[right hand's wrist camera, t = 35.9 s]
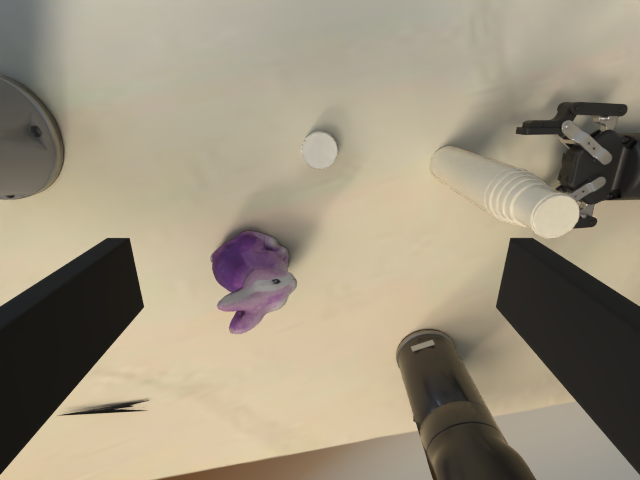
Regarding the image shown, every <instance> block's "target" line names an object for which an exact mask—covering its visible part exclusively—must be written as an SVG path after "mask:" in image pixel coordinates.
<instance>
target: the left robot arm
mask: <svg viewBox="0 0 640 480" xmlns="http://www.w3.org/2000/svg"><path fill="white" fill-rule="evenodd" d="M557 111H558V113H557V115H556V116H555V117H554V118H553V119H552V120H534V121H526V122H523V125H522V127H517V129H516V134H522V135H541V134H555V135H556V136H557V137H558V138H559V141H560V142H561V143H562V144H564V145H565V146H566V147H567V148H568V151H567V152H566V153H564V154H563V158H562V168H561V170H560V173H559V176H558V180H559V181H560V183H559V184H557V185H556V186H554V187H553V188H552V189H553V190H554V191H556V192H558V193H565V192H567V191H568V193H565V194H567V195H569V196H571V197H572V198H573V199H574V200H575V201H576V202H577V201H580V202H581V205H580V206H579V219H578V222H577V223H576V224H575V226H574V227H573V228H586V227H593V226H595V225H596V223H597V219H596V218H594V217H592V214H593V209H594V204H596V203H598V202H601V201H604V200H640V133H624V134H619V133H617V132H616V131H614V129H615V126H616V123H617V120H618V116H623V115H624V114H625V113H626V112H627V106H626V105H625V104H607V103H586V102H574V103H570V102H563V103H561V104H559V106H558V108H557ZM576 115H593V116H592V119H593V121H594V122H595V123H598V124H599V125H600V130H597V131H595V132H593V133H592V134H590V135H589V134H588V133H586V132H583V131H582V130H581V129H580V128H579V127H577V126H576V125H575V124H574V123H573V120H574V118H575V117H576ZM573 228H572V229H573ZM396 359H397V363H398V366H399V368H400V371H401V374H402V378H403V381H404V385H405V388H406V391H407V395H408V398H409V401H410V405H411V408H412V411H413V414H414V419H413V421H414V422H416V424H417V428H418V431H419V434H420V437H421V441H422V444H423V447H424V451H425V454H426V457H427V461H428V465H429V468H430V471H431V475H432V478H433V480H536V479H535V477H534V476H533V474H532V472H531V471H530V469H529V467H528V466H527V464H526V463H525V461H524V460H523V459H522V457H521V456H520V455H519V454H518V453H517V452H516V451H515V450H514V449H513V448H512V447H510V446H509V445H508V444H507V442H506V440H505V438H504V436H503V435H502V433H501V431H500V429H499V428H498V426H497V424H496V422H495V420H494V418H493V417H492V415H491V413H490V411H489V410H488V408H487V406H486V404H485V402H484V400H483V399H482V397H481V395H480V393H479V391H478V389H477V387H476V386H475V384H474V382H473V380H472V378H471V376H470V375H469V373H468V371H467V369H466V367H465V365H464V364H463V362H462V360H461V358H460V356H459V354H458V353H457V351H456V348H455V346H454V344H453V342H452V340H451V339H450V338H449V337H448V336H447V335H445V334H444V333H442V332H439V331H436V330H421V331H417V332H415V333H412V334H410V335H409V336H407V337H406V338H405V339H404V340H403V341H402V342H401V343H400V345H399V347H398V349H397V352H396Z"/></svg>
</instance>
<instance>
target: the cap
mask: <svg viewBox="0 0 640 480" xmlns="http://www.w3.org/2000/svg"><path fill="white" fill-rule="evenodd" d="M337 150H338V149H337V144H336V141H335V140H334V139H333V137H332V136H331V135H330V134H328V133H326V132H323V131H317V132H313V133H311V134H309V136H308V137H306V139H305V140H304V143H303V145H302V156H303V158H304V160H305V162H306V163H307V164H308V165H309V166H311V167H312V168H315V169H324V168H327V167H329V166H330V165H331V164H332V163H333V162H334V161H335V159H336V157H337V154H338V153H337Z"/></svg>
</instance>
